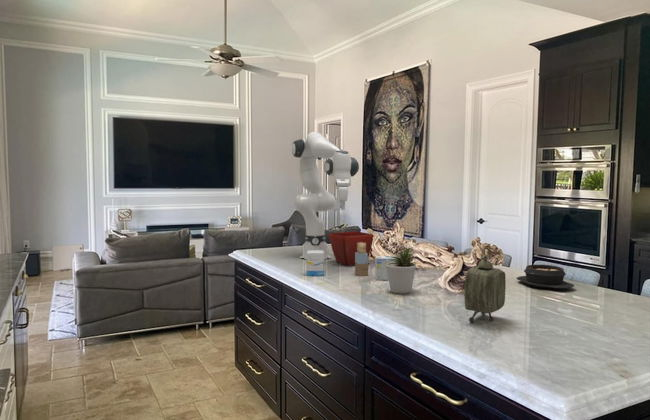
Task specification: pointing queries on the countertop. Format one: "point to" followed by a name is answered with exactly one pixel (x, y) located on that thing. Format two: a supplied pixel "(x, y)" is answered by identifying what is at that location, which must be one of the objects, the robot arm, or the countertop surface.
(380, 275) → the light bulb box
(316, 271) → the ink box
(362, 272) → the tower base
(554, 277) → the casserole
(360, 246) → the brown cylinder
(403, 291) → the potted plant
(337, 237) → the plant pot
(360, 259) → the tower top
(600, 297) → the countertop surface
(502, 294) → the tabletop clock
